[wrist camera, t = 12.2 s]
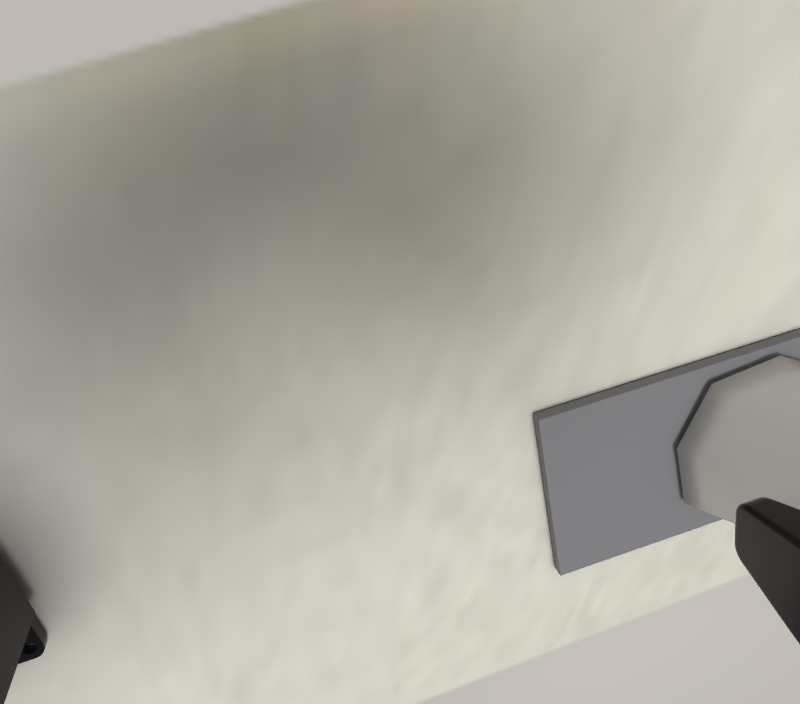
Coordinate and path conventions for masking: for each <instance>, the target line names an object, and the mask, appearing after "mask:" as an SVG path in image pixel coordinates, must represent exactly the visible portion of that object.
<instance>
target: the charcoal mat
mask: <svg viewBox="0 0 800 704" xmlns="http://www.w3.org/2000/svg"><path fill="white" fill-rule="evenodd" d="M780 355H781V356H784V357H788V358H792V359H795V360H799V361H800V329H797V330H794V331H791V332H788V333H785V334H782V335H779V336H775V337H772V338H769V339H766V340H763V341H760V342H757V343H753V344H750V345H747V346H744V347H741V348H738V349H735V350H731V351H728V352H725V353H722V354H719V355H716V356H713V357H709V358H706V359H703V360H700V361H697V362H694V363H691V364H687V365H684V366H681V367H678V368H675V369H672V370H669V371H665V372H662V373H659V374H656V375H653V376H650V377H647V378H643V379H640V380H637V381H634V382H631V383H628V384H624V385H621V386H618V387H615V388H612V389H609V390H606V391H602V392H599V393H596V394H593V395H590V396H587V397H584V398H580V399H577V400H574V401H571V402H568V403H565V404H562V405H558V406H555V407H552V408H549V409H546V410H543V411H540V412H536V413H533V416H534V423H535V430H536V437H537V444H538V451H539V458H540V465H541V472H542V479H543V486H544V493H545V500H546V507H547V514H548V521H549V528H550V535H551V542H552V549H553V556H554V563H555V568H556V569H557V571H558V573H559V574H560V576H561V575H563V574H566V573H569V572H572V571H575V570H578V569H581V568H584V567H586V566H589V565H592V564H595V563H598V562H601V561H604V560H606V559H609V558H612V557H615V556H618V555H621V554H624V553H627V552H629V551H632V550H635V549H638V548H641V547H644V546H647V545H650V544H652V543H655V542H658V541H661V540H664V539H667V538H670V537H673V536H675V535H678V534H681V533H684V532H687V531H690V530H693V529H695V528H698V527H701V526H704V525H707V524H710V523H713V522H716V521H718V520H721V519H722V518H720V517H717V516H714V515H712V514H709V513H707V512H704V511H702V510H700V509H697V508H695V507H693V506H690V505H688V504H686V503H684V497H683V490H682V482H681V475H680V468H679V461H678V453H677V447H678V445H679V443H680V442H681V440H682V438H683V436H684V434H685V432H686V431H687V429H688V427H689V425H690V423H691V421H692V419H693V418H694V416H695V414H696V412H697V410H698V408H699V407H700V405H701V403H702V401H703V399H704V397H705V395H706V394H707V392H708V390H709V388H710V386H711V384H712V383H715V382H717V381H719V380H722V379H724V378H727V377H729V376H732V375H734V374H736V373H739V372H741V371H744V370H746V369H749V368H751V367H753V366H756V365H758V364H761V363H763V362H766V361H768V360H770V359H773V358H775V357H778V356H780Z"/></svg>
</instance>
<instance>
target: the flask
mask: <svg viewBox="0 0 800 704" xmlns="http://www.w3.org/2000/svg"><path fill="white" fill-rule="evenodd" d="M677 453H678V461H679V468H680V475H681V482H682V490H683V497H684V503H686V504H688V505H690V506H693V507H695V508H697V509H700V510H702V511H704V512H707V513H709V514H712V515H714V516H717V517H720V518H722V519H725V520H727V521H730V522H732V523H736V509H737V507H738V506H739V505H740V504H742V503H744V502H747V501H750V500H753V499H756V498H759V497H766V498H770V499H773V500H776V501H778V502H781V503H784V504H786V505H789V506H792V507H795V508H797V509H800V361H799V360H795V359H792V358H788V357H784V356H781V355H780V356H778V357H775V358H773V359H770V360H768V361H766V362H763V363H761V364H758V365H756V366H753V367H751V368H749V369H746V370H744V371H741V372H739V373H736V374H734V375H732V376H729V377H727V378H724V379H722V380H719V381H717V382H715V383H712V384H711V386H710V388H709V390H708V392H707V394H706V395H705V397H704V399H703V401H702V403H701V405H700V407H699V408H698V410H697V412H696V414H695V416H694V418H693V419H692V421H691V423H690V425H689V427H688V429H687V431H686V432H685V434H684V436H683V438H682V440H681V442H680V443H679V445H678V447H677Z"/></svg>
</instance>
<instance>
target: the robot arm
mask: <svg viewBox="0 0 800 704" xmlns="http://www.w3.org/2000/svg"><path fill="white" fill-rule="evenodd" d="M735 547H736V551H737V554H738V556H739V558H740V560H741V561H742V563H743V564H744V566H745V567H746V569H747V570H748V572H749V573H750V574H751V576H752V577H753V578H754V580H755V581H756V583H757V584H758V586H759V587H760V589H761V590H762V591H763V593H764V594H765V596H766V597H767V599H768V600H769V601H770V603H771V604H772V606H773V607H774V609H775V610H776V611H777V613H778V614H779V616H780V617H781V618H782V620H783V621H784V623H785V624H786V626H787V627H788V628H789V630H790V631H791V633H792V634H793V636H794V637H795V638H796V639H797V641H798V642H799V644H800V509H797V508H795V507H792V506H789V505H786V504H784V503H781V502H778V501H776V500H773V499H770V498H766V497H759V498H756V499H753V500H750V501H747V502H744V503H742V504H740V505H739V506H738V507H737V509H736V523H735ZM34 615H35V612H34V610H33V608H32V607H31V605H30V604H29V602H28V601H27V599H26V598H25V596H24V595H23V593H22V592H21V590H20V589H19V587H18V586H17V584H16V583H15V581H14V580H13V578H12V576H11V575H10V573H9V572H8V570H7V569H6V567H5V566H4V564H3V563H2V562H1V561H0V704H4V702H5V699H6V696H7V693H8V690H9V688H10V685H11V682H12V679H13V676H14V673H15V670H16V667H17V664H19V663H22V662H26V661H29V660H32V659H35V658H37V657H39V656H41V654H42V653H43V652H44V649H45V646H46V643H47V636H46V634H45V632H44V631H43V629H42V628H41V626H40V625H39V623H38V622H37V620H36V619H35V617H34ZM26 643H32V644H34V645H28V644H26Z"/></svg>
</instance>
